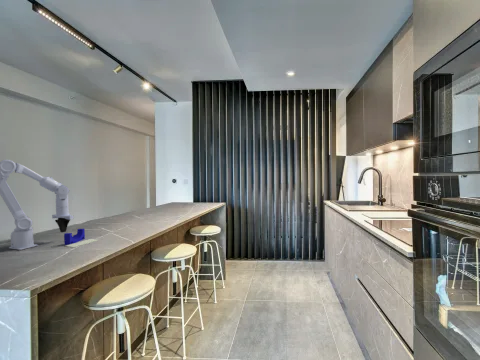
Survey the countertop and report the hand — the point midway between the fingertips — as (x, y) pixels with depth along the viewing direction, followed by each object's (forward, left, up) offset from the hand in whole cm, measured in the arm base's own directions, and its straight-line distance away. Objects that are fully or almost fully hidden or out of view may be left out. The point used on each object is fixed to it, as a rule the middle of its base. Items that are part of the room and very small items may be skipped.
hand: (63, 231), depth 140 cm
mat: (+15, 0, -5) cm, 16 cm away
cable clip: (+7, 0, -5) cm, 9 cm away
